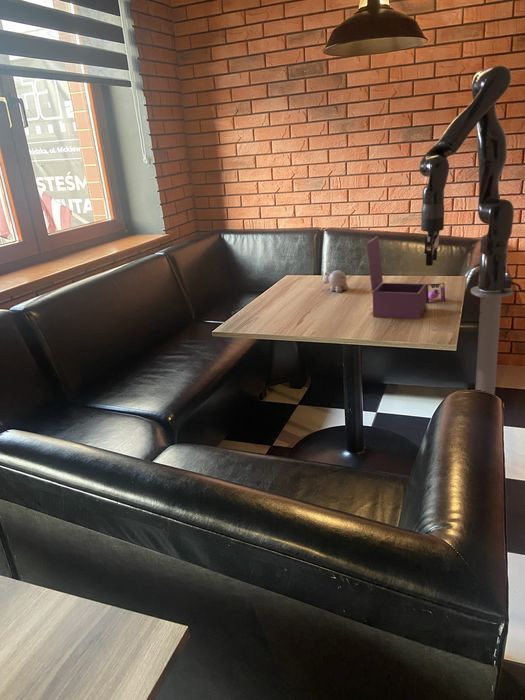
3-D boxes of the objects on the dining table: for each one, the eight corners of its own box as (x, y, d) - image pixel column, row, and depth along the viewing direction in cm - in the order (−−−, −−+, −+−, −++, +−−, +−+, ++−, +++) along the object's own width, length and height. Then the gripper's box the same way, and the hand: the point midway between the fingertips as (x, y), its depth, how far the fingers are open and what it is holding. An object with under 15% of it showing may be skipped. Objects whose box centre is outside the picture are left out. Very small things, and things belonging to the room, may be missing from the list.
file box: (426, 308, 188) (426, 283, 185) (419, 319, 178) (419, 293, 175) (382, 306, 195) (382, 282, 192) (373, 316, 185) (372, 292, 182)
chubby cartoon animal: (330, 286, 229) (329, 266, 226) (350, 289, 220) (349, 269, 217) (318, 289, 225) (316, 270, 222) (338, 293, 216) (337, 273, 213)
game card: (418, 284, 193) (444, 283, 192) (417, 285, 198) (442, 284, 197) (419, 303, 193) (445, 301, 192) (417, 304, 198) (443, 302, 197)
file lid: (378, 236, 187) (376, 236, 187) (368, 242, 176) (366, 243, 177) (382, 281, 192) (381, 281, 192) (373, 291, 182) (371, 291, 182)
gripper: (440, 219, 177) (439, 267, 183) (447, 213, 189) (445, 258, 194) (417, 219, 180) (416, 267, 186) (425, 213, 192) (424, 258, 198)
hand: (431, 262), depth 190 cm, fingers open, 8 cm apart
